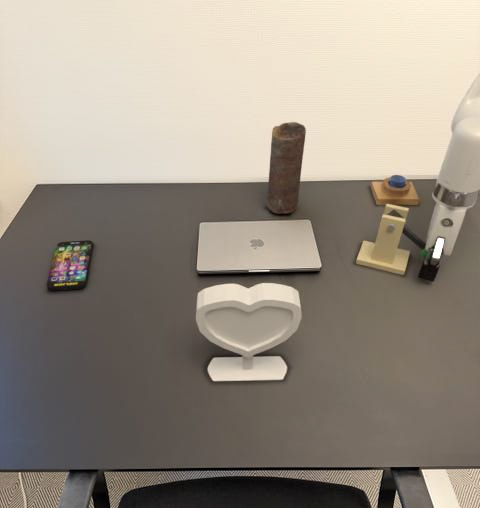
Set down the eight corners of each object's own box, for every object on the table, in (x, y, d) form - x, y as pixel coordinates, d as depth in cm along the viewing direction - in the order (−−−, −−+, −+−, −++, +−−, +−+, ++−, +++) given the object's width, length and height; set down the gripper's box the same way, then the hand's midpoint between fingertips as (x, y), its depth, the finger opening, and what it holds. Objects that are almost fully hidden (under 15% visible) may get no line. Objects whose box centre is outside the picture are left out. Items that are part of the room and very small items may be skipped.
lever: (429, 256, 97) (442, 247, 95) (427, 265, 95) (440, 257, 93) (383, 216, 95) (395, 206, 92) (381, 224, 93) (393, 215, 90)
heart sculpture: (201, 381, 78) (193, 304, 65) (202, 357, 82) (195, 280, 69) (294, 379, 78) (305, 302, 65) (291, 356, 82) (300, 278, 69)
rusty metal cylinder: (302, 214, 112) (311, 132, 97) (274, 220, 110) (279, 138, 95) (289, 198, 116) (296, 117, 102) (261, 203, 115) (265, 122, 100)
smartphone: (93, 239, 103) (85, 285, 93) (94, 243, 104) (86, 289, 94) (57, 242, 103) (44, 288, 92) (58, 245, 103) (46, 291, 93)
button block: (409, 187, 120) (413, 175, 117) (417, 205, 114) (421, 192, 112) (370, 187, 120) (373, 175, 117) (376, 205, 114) (379, 192, 112)
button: (402, 181, 116) (403, 174, 115) (405, 189, 114) (407, 182, 112) (387, 181, 116) (389, 174, 115) (390, 188, 114) (392, 182, 112)
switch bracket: (408, 255, 101) (424, 208, 92) (403, 275, 97) (419, 227, 88) (362, 244, 104) (373, 198, 95) (355, 263, 99) (366, 216, 91)
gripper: (475, 221, 78) (442, 296, 90) (480, 172, 89) (451, 245, 101) (428, 212, 80) (403, 286, 92) (439, 164, 91) (415, 237, 103)
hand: (428, 264), depth 97 cm, fingers open, 8 cm apart
